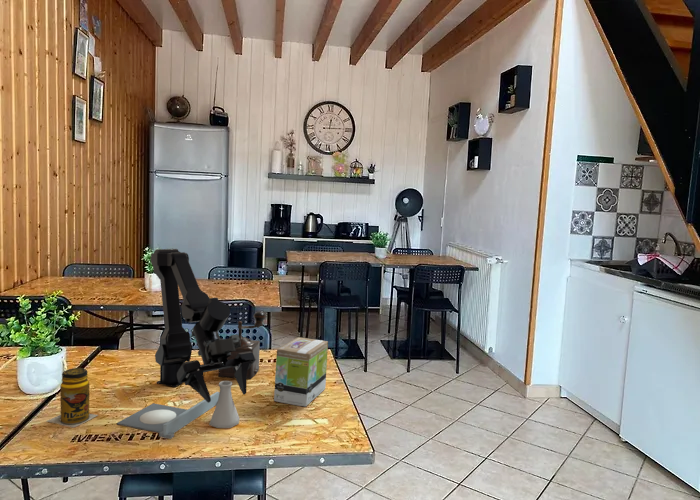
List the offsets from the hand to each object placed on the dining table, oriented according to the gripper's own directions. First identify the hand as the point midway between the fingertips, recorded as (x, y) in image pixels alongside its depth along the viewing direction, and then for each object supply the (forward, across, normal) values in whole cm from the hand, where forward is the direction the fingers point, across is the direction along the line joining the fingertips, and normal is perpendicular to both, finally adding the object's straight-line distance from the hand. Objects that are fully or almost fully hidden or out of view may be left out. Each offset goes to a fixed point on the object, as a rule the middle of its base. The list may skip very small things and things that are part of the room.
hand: (227, 397), depth 122 cm
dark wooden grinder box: (-19, +22, +29) cm, 41 cm away
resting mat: (-4, -12, +14) cm, 19 cm away
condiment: (-12, -29, +21) cm, 38 cm away
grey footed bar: (-1, -5, +10) cm, 11 cm away
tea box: (+1, +26, +9) cm, 27 cm away
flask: (+4, 0, +6) cm, 7 cm away
